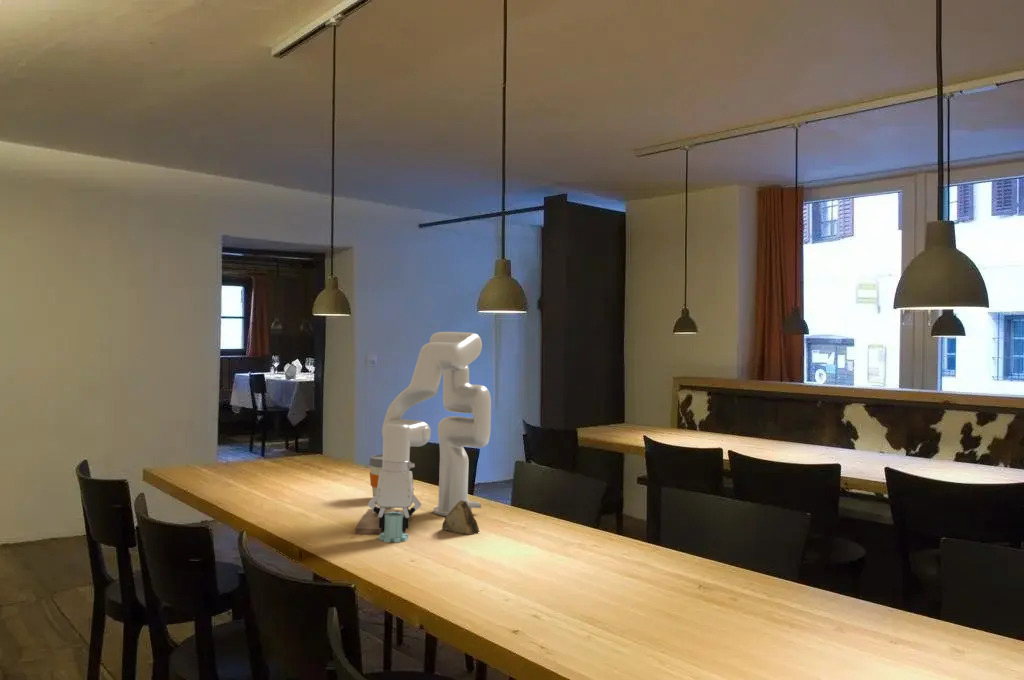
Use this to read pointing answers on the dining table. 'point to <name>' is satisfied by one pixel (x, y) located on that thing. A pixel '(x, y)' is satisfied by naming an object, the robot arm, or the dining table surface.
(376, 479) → the reusable coffee cup
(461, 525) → the rock
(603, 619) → the dining table surface
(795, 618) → the dining table surface
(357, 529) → the gear board
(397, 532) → the loose cog
